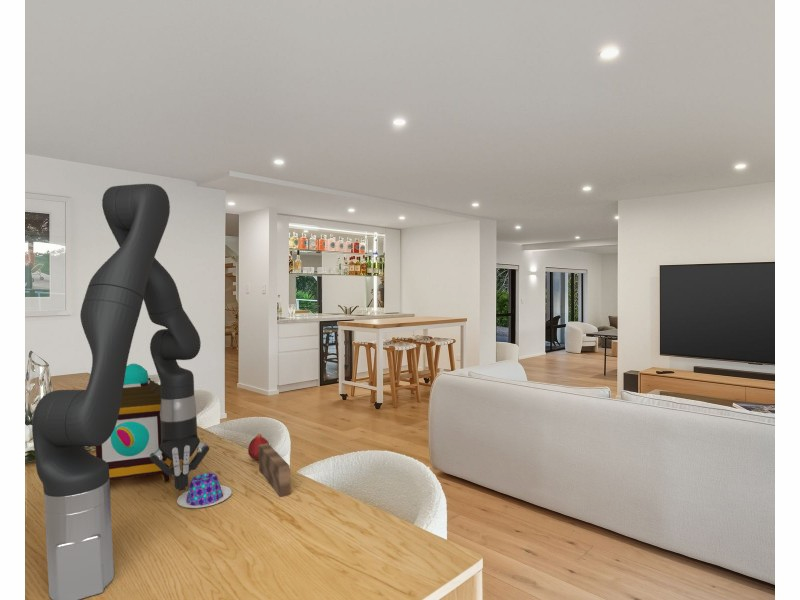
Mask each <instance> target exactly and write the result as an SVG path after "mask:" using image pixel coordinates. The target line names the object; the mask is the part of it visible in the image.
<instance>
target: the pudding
mask: <svg viewBox="0 0 800 600" xmlns="http://www.w3.org/2000/svg"><path fill="white" fill-rule="evenodd" d="M188 487H189V488H188V490H187V491H185V492H183V493H182V494H181V495H179V496H178V497H177V500H176V503H177V505H179V506H180V507H183V508H189V509H190V508H192V509H196V508H197V509H198V508H199V509H200V508H205V507H206V508H207V507H209V506H213V505H217V504H219V503H222V502H223V501H225V500H227V499H228V498H229V497H230V496H231V495H232V492H233V491H232V489H231V488H230V487H228V486H226V485H221V483H220V480H219V478H218V475H217V474H216V473H211V472H206V473H200V474H197V475H195V476H193V477H192V478H191V480H190V481H189V485H188Z"/></svg>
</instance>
